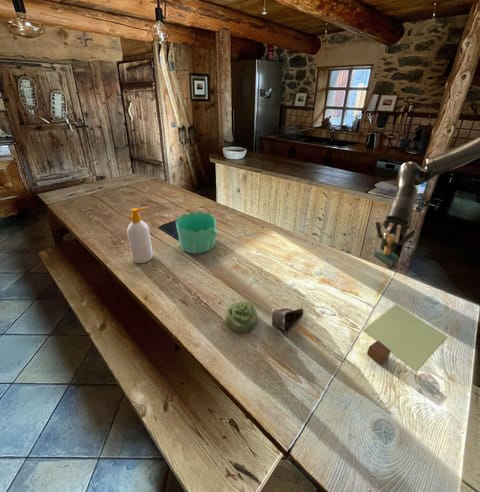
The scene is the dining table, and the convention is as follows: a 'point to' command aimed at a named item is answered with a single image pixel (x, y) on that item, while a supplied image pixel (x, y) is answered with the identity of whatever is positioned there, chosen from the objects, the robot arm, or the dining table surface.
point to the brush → (387, 253)
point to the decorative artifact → (241, 316)
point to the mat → (405, 336)
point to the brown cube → (378, 352)
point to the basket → (196, 232)
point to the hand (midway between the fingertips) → (386, 251)
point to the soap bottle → (139, 238)
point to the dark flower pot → (286, 318)
